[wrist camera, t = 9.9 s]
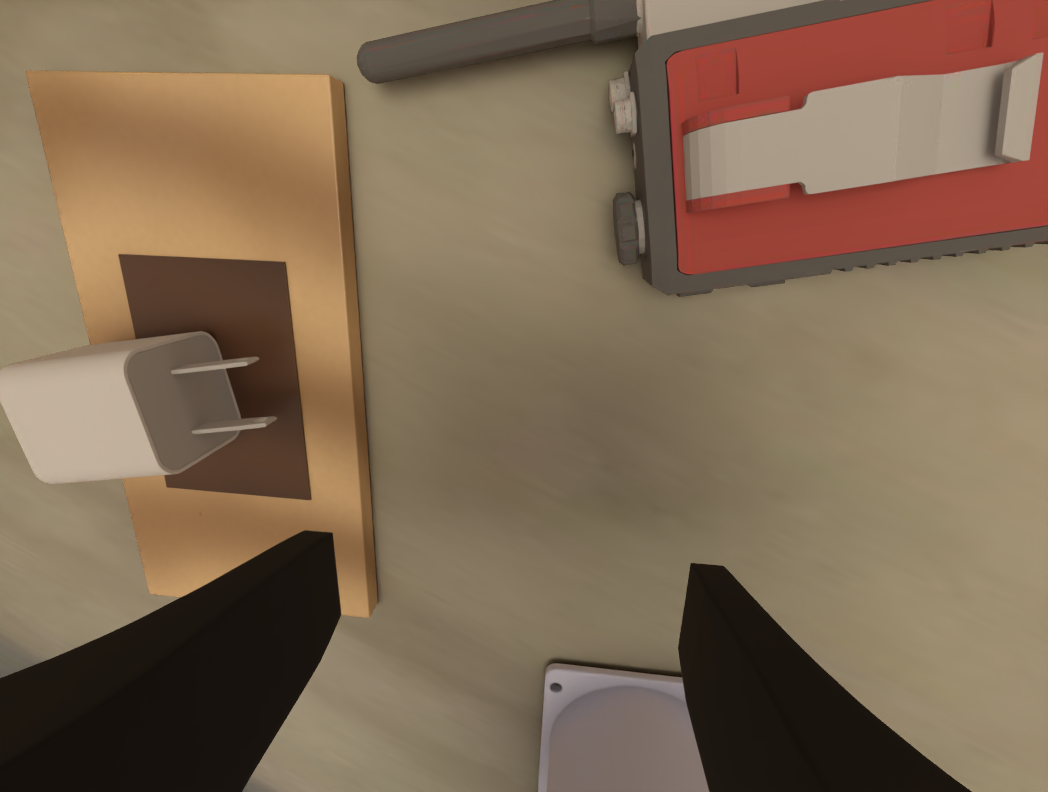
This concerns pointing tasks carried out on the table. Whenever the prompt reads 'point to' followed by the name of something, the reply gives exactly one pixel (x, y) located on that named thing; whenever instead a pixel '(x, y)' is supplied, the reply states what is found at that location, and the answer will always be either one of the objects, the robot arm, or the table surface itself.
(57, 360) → the usb wall charger
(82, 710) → the robot arm
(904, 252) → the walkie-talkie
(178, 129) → the board
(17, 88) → the table surface
